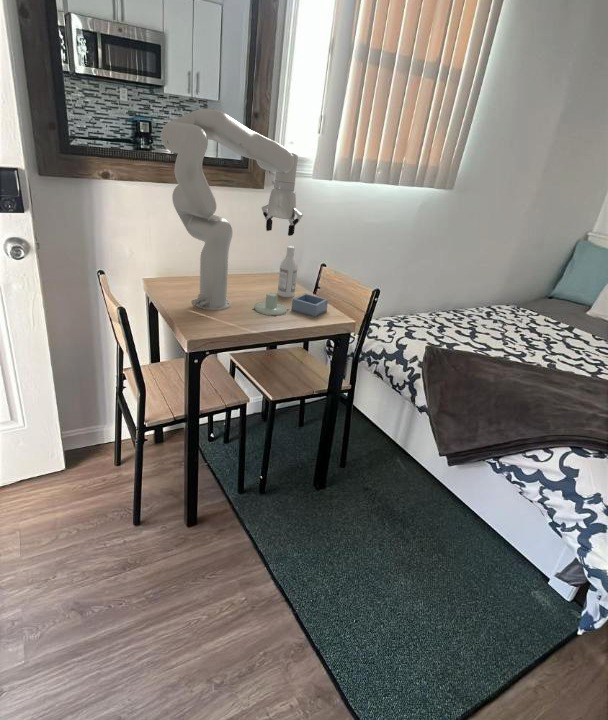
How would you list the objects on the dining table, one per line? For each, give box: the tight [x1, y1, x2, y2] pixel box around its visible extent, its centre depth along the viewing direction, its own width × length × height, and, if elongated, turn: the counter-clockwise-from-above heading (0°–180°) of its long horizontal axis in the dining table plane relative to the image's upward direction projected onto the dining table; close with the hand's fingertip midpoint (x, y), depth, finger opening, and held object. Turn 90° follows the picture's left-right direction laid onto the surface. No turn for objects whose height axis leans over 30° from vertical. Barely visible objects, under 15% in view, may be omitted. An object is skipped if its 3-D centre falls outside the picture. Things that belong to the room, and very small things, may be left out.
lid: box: [253, 292, 288, 316], centre depth 165 cm, size 12×12×6 cm
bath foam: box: [277, 245, 298, 298], centre depth 181 cm, size 7×7×20 cm
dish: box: [291, 292, 329, 318], centre depth 170 cm, size 10×10×5 cm
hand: (279, 232), depth 176 cm, fingers open, 9 cm apart
